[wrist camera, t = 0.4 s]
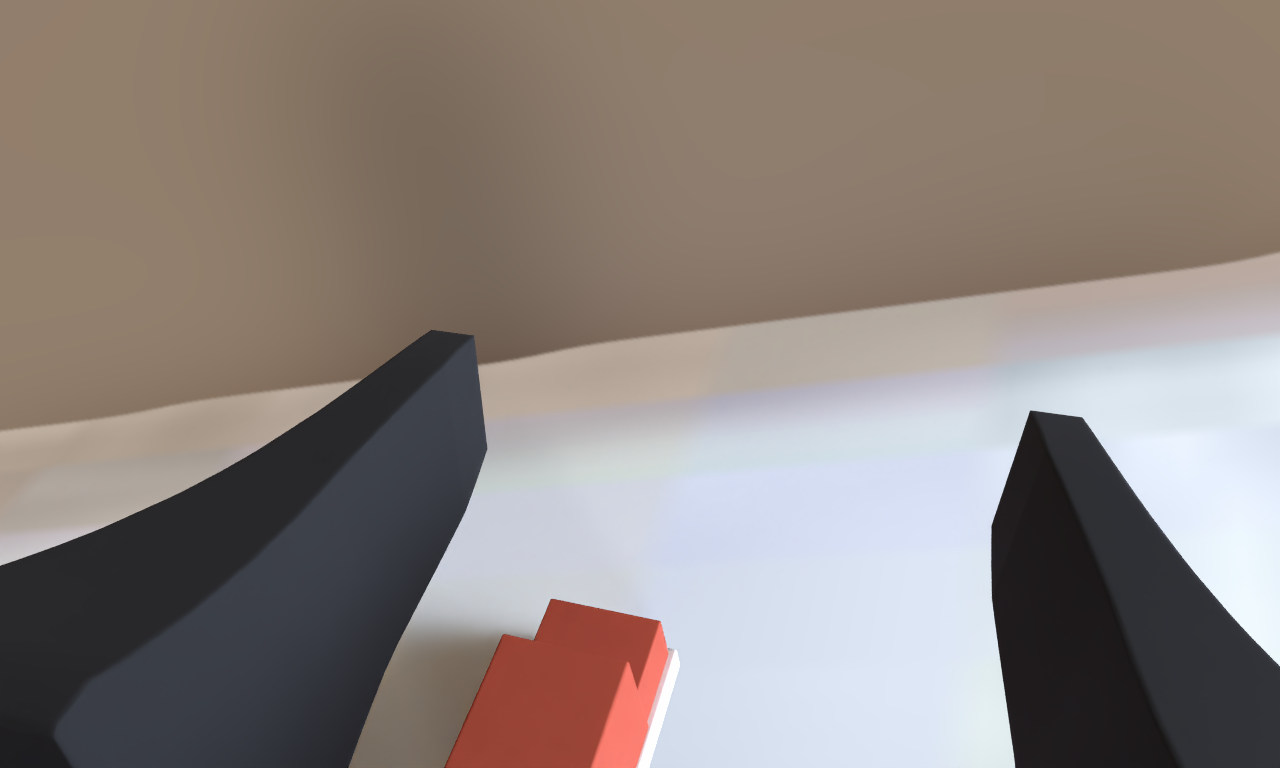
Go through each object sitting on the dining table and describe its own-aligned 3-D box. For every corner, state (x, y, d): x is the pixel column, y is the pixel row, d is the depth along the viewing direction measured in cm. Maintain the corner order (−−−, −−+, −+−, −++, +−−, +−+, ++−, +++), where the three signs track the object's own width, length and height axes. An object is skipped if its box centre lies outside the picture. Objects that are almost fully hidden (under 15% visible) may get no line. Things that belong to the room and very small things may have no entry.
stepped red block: (609, 898, 27) (574, 833, 24) (479, 859, 28) (428, 791, 25) (680, 664, 32) (660, 579, 28) (566, 639, 33) (533, 555, 29)
